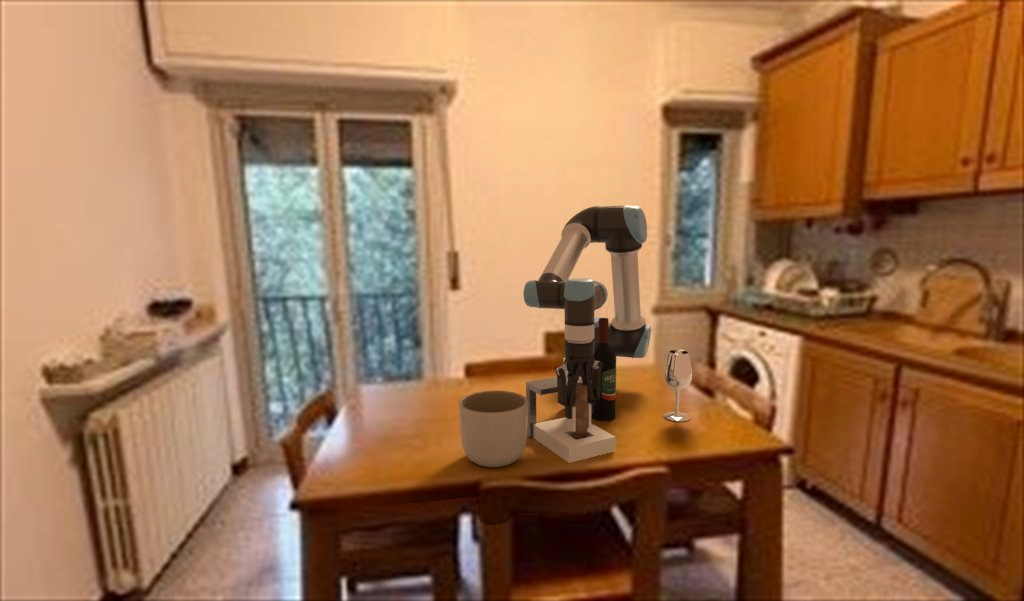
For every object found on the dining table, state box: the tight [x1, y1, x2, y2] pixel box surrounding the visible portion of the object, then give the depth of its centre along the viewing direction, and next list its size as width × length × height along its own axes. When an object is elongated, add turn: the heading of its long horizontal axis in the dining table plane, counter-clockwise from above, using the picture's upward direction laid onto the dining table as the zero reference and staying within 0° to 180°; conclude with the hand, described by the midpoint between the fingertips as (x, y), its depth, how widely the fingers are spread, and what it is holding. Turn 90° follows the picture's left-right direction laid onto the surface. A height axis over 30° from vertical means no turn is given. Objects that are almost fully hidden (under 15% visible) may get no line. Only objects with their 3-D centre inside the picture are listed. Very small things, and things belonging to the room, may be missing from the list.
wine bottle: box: [590, 317, 617, 422], centre depth 167 cm, size 8×8×30 cm
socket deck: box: [532, 416, 616, 464], centre depth 149 cm, size 14×18×4 cm
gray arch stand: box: [525, 375, 592, 440], centre depth 155 cm, size 16×8×16 cm, turn 117°
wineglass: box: [663, 349, 693, 422], centre depth 167 cm, size 8×8×20 cm
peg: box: [572, 382, 587, 440], centre depth 145 cm, size 4×4×16 cm
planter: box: [458, 390, 528, 468], centre depth 140 cm, size 17×17×15 cm
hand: (579, 428), depth 146 cm, fingers open, 4 cm apart
